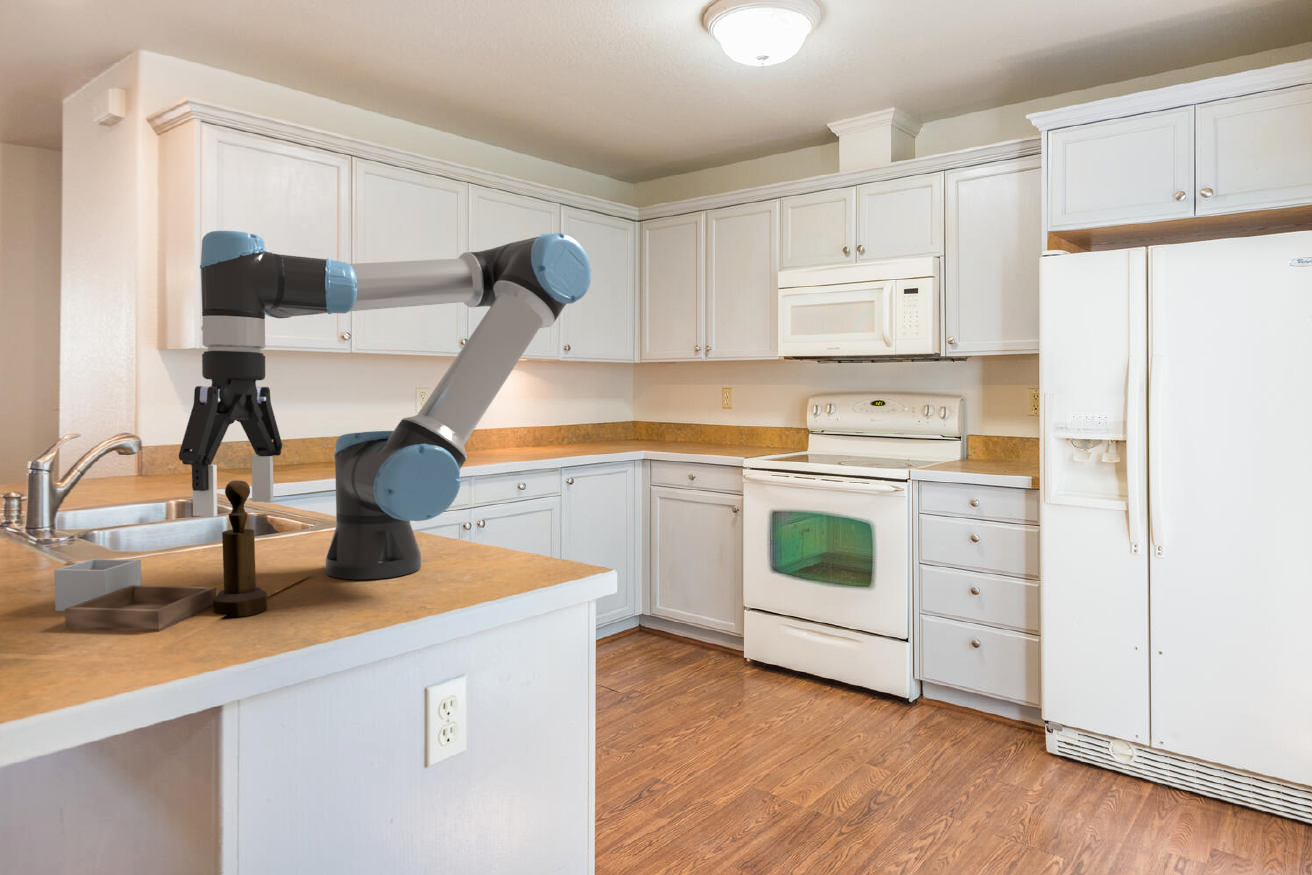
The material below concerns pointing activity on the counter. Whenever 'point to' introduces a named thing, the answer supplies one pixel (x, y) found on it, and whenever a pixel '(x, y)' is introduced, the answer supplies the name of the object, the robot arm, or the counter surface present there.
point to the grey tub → (93, 580)
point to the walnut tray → (140, 608)
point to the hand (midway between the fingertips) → (235, 508)
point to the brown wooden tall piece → (239, 561)
